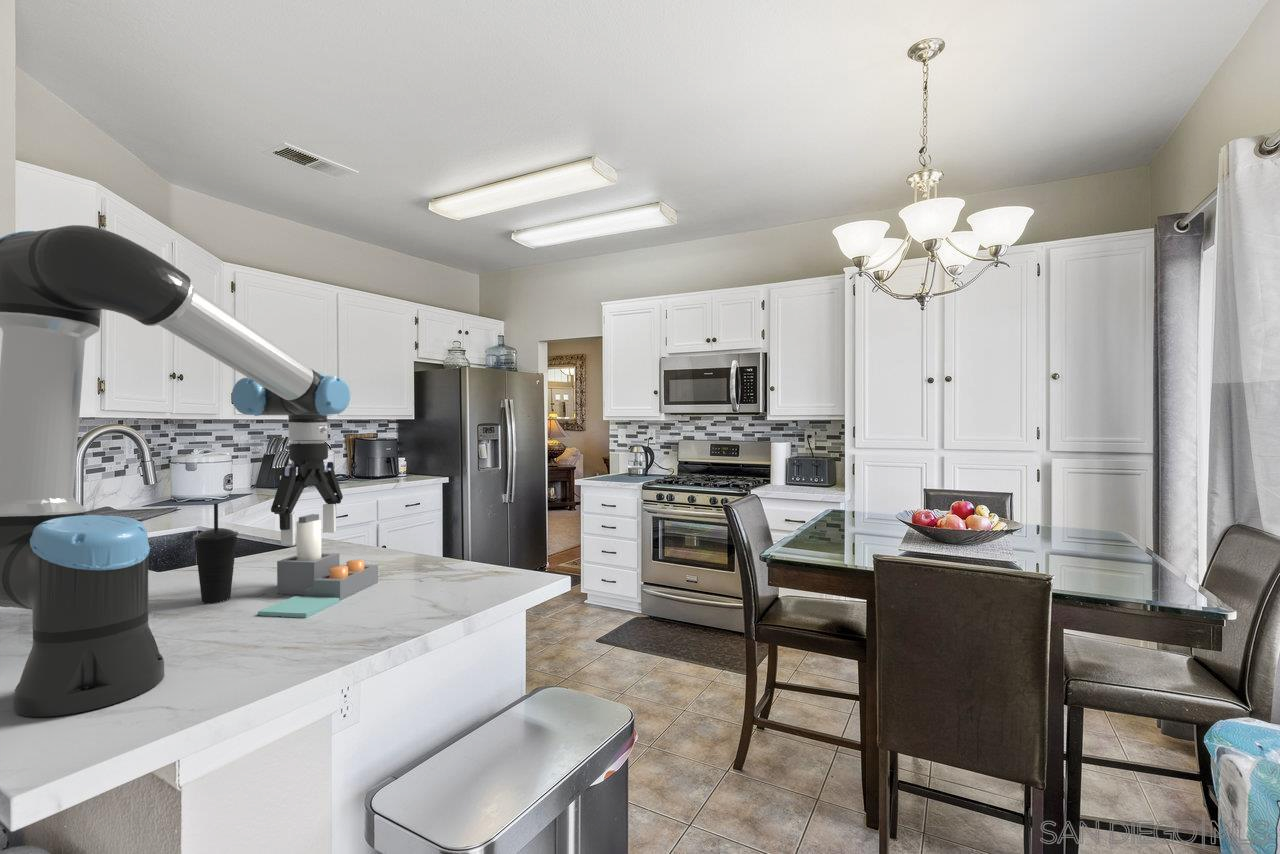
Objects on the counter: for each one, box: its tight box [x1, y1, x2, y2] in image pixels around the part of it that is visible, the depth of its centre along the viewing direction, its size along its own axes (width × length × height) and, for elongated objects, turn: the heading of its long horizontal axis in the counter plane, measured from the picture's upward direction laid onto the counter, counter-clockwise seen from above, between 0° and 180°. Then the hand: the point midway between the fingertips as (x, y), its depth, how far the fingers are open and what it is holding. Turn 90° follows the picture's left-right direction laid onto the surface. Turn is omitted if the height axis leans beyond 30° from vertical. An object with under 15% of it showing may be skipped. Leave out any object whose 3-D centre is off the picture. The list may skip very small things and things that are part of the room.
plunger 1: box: [329, 565, 348, 579], centre depth 128 cm, size 4×4×5 cm
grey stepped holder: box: [276, 552, 379, 601], centre depth 131 cm, size 14×16×7 cm
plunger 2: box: [345, 559, 365, 572], centre depth 134 cm, size 4×4×5 cm
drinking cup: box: [192, 502, 239, 604], centre depth 123 cm, size 8×8×20 cm
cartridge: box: [295, 513, 322, 561], centre depth 132 cm, size 5×5×16 cm
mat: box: [257, 595, 340, 619], centre depth 118 cm, size 10×10×1 cm
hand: (309, 538), depth 132 cm, fingers open, 13 cm apart
